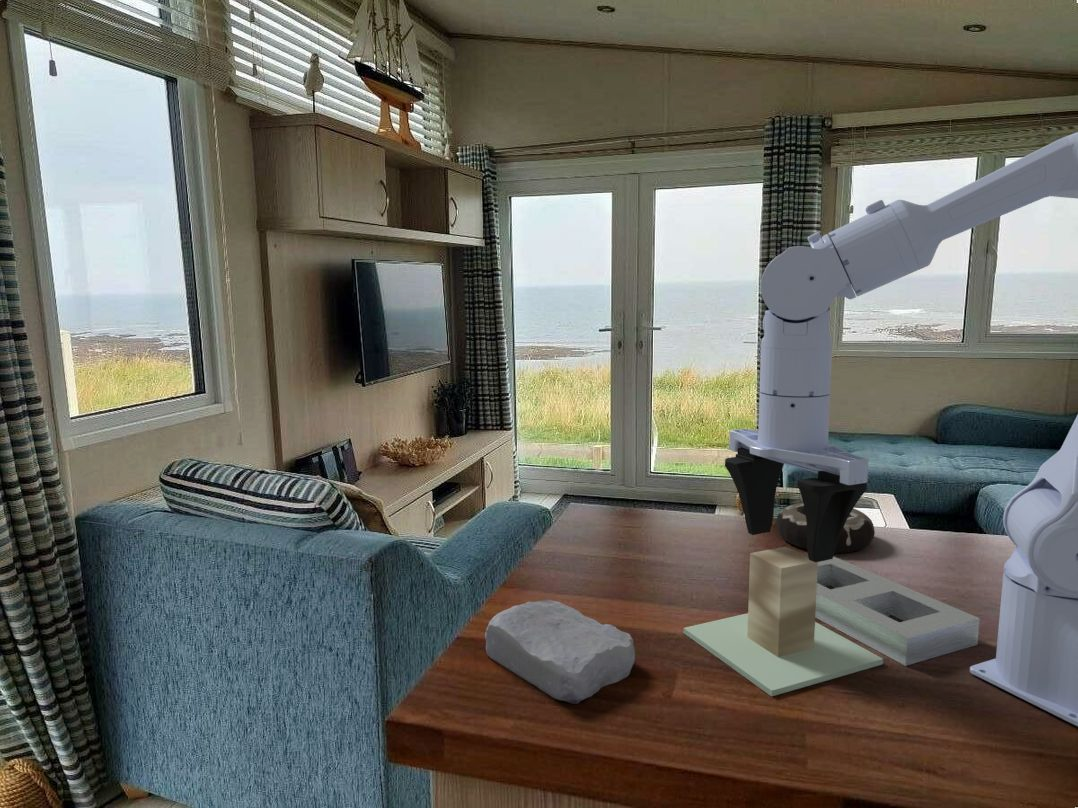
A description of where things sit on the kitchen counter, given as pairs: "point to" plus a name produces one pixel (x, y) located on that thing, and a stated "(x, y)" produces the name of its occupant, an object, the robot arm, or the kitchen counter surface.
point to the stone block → (559, 649)
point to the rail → (873, 598)
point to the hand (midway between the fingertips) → (788, 545)
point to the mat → (786, 671)
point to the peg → (782, 600)
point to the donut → (851, 539)
